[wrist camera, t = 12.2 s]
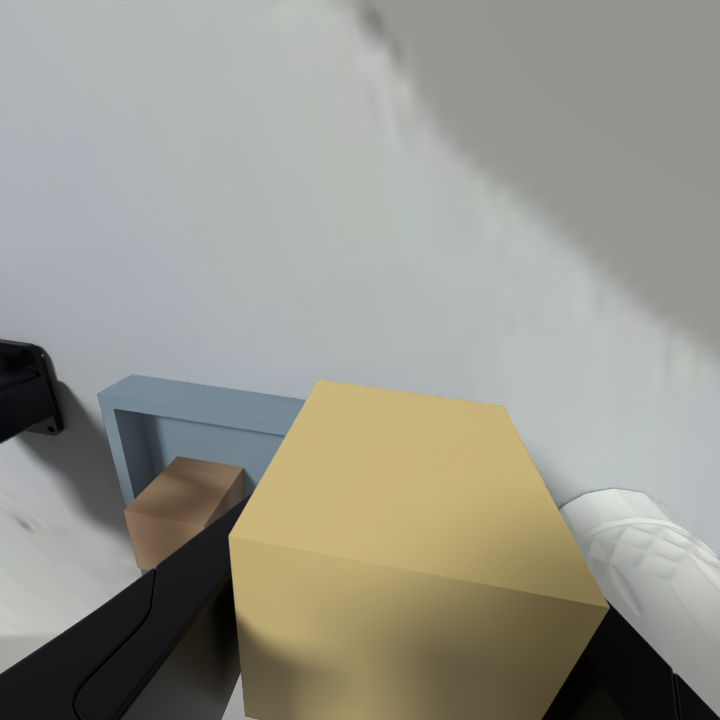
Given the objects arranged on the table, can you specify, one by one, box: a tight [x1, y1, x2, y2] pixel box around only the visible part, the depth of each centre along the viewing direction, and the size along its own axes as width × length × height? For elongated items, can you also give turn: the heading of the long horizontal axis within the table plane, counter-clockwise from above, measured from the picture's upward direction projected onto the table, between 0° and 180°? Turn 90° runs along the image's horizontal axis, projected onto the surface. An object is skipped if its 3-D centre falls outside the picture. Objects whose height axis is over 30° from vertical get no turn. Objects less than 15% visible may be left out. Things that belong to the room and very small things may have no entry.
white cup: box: [559, 488, 720, 717], centre depth 16 cm, size 8×8×10 cm
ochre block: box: [229, 380, 610, 720], centre depth 7 cm, size 4×4×4 cm
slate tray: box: [97, 375, 306, 576], centre depth 21 cm, size 20×15×2 cm
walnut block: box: [124, 456, 245, 570], centre depth 20 cm, size 4×4×4 cm
